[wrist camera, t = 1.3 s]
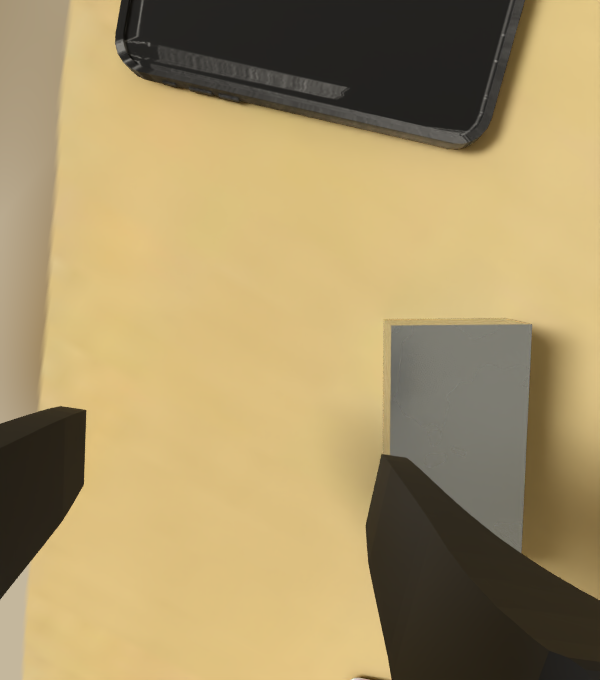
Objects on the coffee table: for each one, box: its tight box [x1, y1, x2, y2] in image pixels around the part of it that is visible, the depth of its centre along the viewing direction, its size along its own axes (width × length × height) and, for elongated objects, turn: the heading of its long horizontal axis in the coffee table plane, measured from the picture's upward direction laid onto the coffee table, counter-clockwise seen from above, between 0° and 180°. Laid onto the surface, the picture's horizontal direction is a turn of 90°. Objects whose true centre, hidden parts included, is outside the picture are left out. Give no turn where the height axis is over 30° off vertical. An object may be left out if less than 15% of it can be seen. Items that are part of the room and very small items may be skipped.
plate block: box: [383, 318, 532, 553], centre depth 19 cm, size 10×5×3 cm, turn 1°
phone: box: [115, 0, 525, 149], centre depth 18 cm, size 8×1×15 cm
